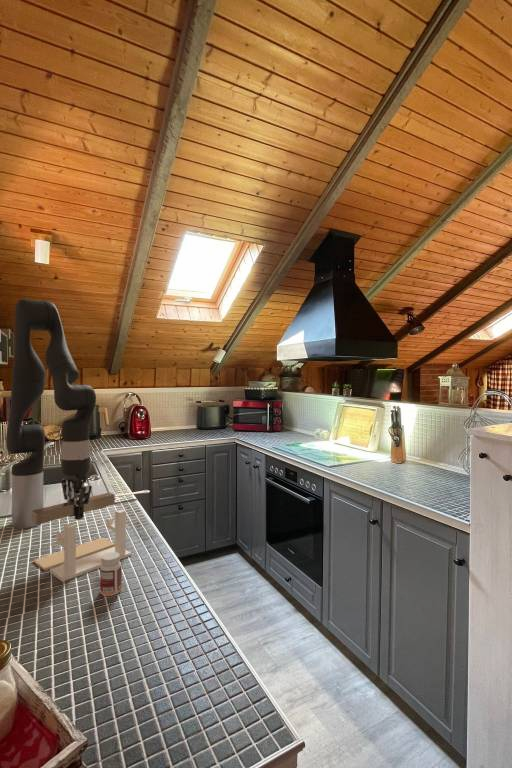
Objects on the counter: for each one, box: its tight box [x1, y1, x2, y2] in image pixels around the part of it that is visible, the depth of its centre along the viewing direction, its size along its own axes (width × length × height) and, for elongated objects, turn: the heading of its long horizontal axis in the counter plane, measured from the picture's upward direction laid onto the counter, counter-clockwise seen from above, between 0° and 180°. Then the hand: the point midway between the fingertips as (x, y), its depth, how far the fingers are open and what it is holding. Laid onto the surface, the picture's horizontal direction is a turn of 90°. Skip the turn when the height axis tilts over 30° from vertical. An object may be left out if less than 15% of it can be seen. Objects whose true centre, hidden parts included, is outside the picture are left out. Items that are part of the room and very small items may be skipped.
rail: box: [32, 492, 116, 526], centre depth 112 cm, size 3×22×3 cm, turn 140°
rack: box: [49, 508, 132, 583], centre depth 107 cm, size 7×19×13 cm, turn 140°
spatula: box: [115, 489, 151, 498], centre depth 158 cm, size 28×6×3 cm, turn 128°
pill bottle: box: [99, 552, 123, 597], centre depth 94 cm, size 5×5×8 cm
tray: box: [33, 537, 115, 571], centre depth 113 cm, size 7×20×1 cm, turn 140°
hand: (76, 517), depth 112 cm, fingers closed on rail, 3 cm apart
